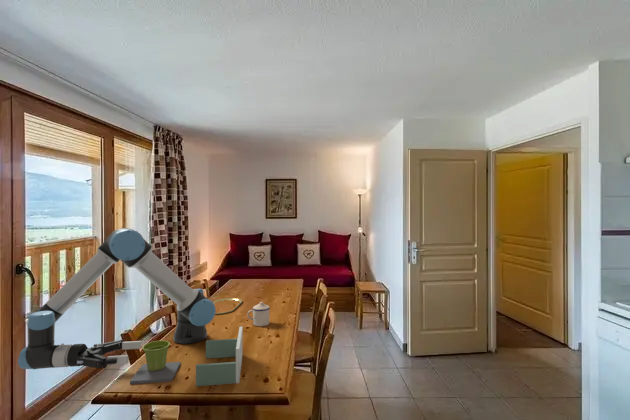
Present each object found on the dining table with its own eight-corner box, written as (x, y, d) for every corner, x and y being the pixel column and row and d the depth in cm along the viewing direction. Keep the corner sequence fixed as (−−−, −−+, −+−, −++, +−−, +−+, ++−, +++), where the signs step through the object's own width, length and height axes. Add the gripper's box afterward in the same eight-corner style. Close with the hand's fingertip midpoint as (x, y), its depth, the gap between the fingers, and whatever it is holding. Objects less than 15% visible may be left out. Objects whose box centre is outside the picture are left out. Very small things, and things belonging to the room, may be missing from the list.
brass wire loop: (245, 300, 240) (245, 298, 240) (229, 316, 205) (229, 313, 205) (218, 300, 241) (218, 297, 241) (198, 315, 206) (198, 312, 206)
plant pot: (160, 374, 128) (160, 350, 128) (137, 372, 130) (137, 349, 130) (174, 363, 138) (174, 341, 138) (152, 361, 139) (152, 339, 139)
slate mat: (129, 384, 123) (129, 381, 123) (142, 366, 137) (142, 364, 137) (172, 381, 125) (172, 378, 125) (180, 364, 139) (180, 361, 139)
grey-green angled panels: (195, 386, 122) (195, 351, 122) (206, 357, 146) (206, 328, 146) (239, 383, 124) (239, 348, 124) (242, 355, 148) (242, 326, 148)
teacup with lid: (270, 321, 193) (270, 300, 193) (268, 326, 184) (268, 304, 184) (249, 321, 194) (249, 300, 194) (245, 326, 185) (245, 304, 185)
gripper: (51, 359, 114) (121, 355, 118) (87, 333, 139) (145, 330, 142) (51, 382, 114) (121, 377, 118) (87, 352, 139) (145, 348, 142)
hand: (134, 351), depth 130 cm, fingers open, 13 cm apart
